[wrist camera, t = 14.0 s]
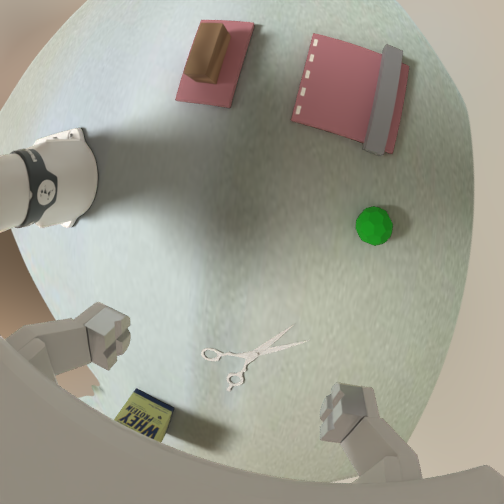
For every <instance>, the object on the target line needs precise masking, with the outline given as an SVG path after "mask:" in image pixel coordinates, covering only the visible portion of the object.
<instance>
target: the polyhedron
mask: <svg viewBox="0 0 504 504" xmlns="http://www.w3.org/2000/svg"><path fill="white" fill-rule="evenodd" d="M392 228H393V223H392V221H391V220H390V218H389V216H388V214H387V212H386V211H385V210H383V209H381V208H378V207H374V206H373V207H369V208H366V209H365V210H364V211H363V212H362V213H361V214H360V215H359V217H358V218H357V220H356V230H357V233H358V235H359V237H360V238H361V240H362V241H364V242H367V243H369V244H372V245H374V246H376V245H380V244H383V243H385V242H386V241H387V240H388V239H389V238H390V236H391V234H392Z"/></svg>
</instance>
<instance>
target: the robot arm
mask: <svg viewBox="0 0 504 504" xmlns="http://www.w3.org/2000/svg"><path fill="white" fill-rule="evenodd" d="M97 182H98V173H97V165H96V161H95V158H94V155H93V153H92V151H91V149H90V148H89V147H88V145H87V144H86V142H85V139H84V135H83V132H82V129H81V128H74V129H71V130H67V131H63V132H60V133H56V134H53V135H49V136H46V137H43V138H40V139H37V140H36V142H35V144H34V146H31V147H28V148H26V149H19V150H16V151H13V152H11V153H10V154H5V155H0V233H1V232H3V231H6V230H8V229H11V228H13V227H15V228H21V227H27V226H30V225H31V224H34V223H35V224H36V225H38V226H39V227H40V228H45V227H49V226H53V225H57V224H61V225H63V226H64V227H65V228H70V227H72V226H73V224H74V223H75V221H76V219H77V218H78V217H79V216H81V215H82V214H84V213H85V212H86V211H87V210H88V209H89V207H90V206H91V204H92V202H93V200H94V197H95V194H96V189H97ZM129 326H130V318H129V317H128V316H127V315H125V314H123V313H121V312H119V311H117V310H115V309H113V308H111V307H108V306H106V305H104V304H102V303H100V302H96V303H95V304H93V305H92V306H91V307H89V308H88V309H87V310H85V311H84V312H83V313H82V314H80V315H79V316H78V317H76V318H75V319H74V320H73V319H72V318H69V319H63V320H57V321H50V322H44V323H38V324H31V325H24V326H23V327H21V328H20V329H18V330H17V331H16V332H14V333H13V334H11V335H10V336H9V337H8V338H6V339H4V338H3V337H1V336H0V504H504V477H503V476H502V475H501V474H500V473H498V472H497V471H496V470H494V469H493V468H492V467H490V466H488V465H483V466H479V467H476V468H472V469H469V470H465V471H461V472H457V473H452V474H447V475H443V476H437V477H432V478H425V479H422V474H421V469H420V464H419V460H418V456H417V454H416V453H415V452H414V451H413V450H412V449H411V447H410V446H409V445H408V444H407V443H406V442H405V441H404V440H403V439H402V438H401V437H400V436H399V435H398V434H397V433H396V432H395V431H394V429H393V428H392V427H391V426H390V425H389V424H388V423H387V422H386V421H385V420H384V419H383V418H380V415H379V411H378V406H377V402H376V398H375V393H374V389H373V388H372V387H364V386H357V385H351V384H345V383H339V382H336V383H335V384H334V386H333V387H332V389H331V390H332V394H330V395H328V396H326V398H325V399H324V401H323V404H322V406H321V411H320V419H321V420H322V421H323V424H322V425H321V426H320V440H322V441H328V442H335V443H340V445H341V447H342V448H343V450H344V452H345V454H346V455H347V457H348V458H349V460H350V462H351V463H352V465H353V467H354V468H355V470H356V472H357V473H358V475H359V478H358V479H356V480H355V481H354V482H352V483H328V482H315V481H305V480H297V479H289V478H283V477H277V476H271V475H265V474H260V473H256V472H251V471H247V470H242V469H238V468H234V467H231V466H227V465H223V464H220V463H216V462H213V461H210V460H207V459H204V458H200V457H197V456H195V455H192V454H189V453H186V452H183V451H181V450H178V449H175V448H173V447H170V446H168V445H165V444H163V443H161V442H158V441H156V440H154V439H151V438H149V437H147V436H145V435H143V434H141V433H138V432H136V431H134V430H132V429H130V428H128V427H126V426H124V425H122V424H120V423H119V422H117V421H115V420H113V419H111V418H109V417H108V416H106V415H104V414H102V413H101V412H99V411H97V410H96V409H94V408H92V407H91V406H89V405H87V404H86V403H84V402H83V401H81V400H80V399H78V398H77V397H75V396H74V395H72V394H71V393H69V392H68V391H66V390H65V389H63V388H62V387H61V386H59V385H58V383H57V380H56V377H55V376H56V375H59V374H62V373H64V372H67V371H70V370H73V369H76V368H78V367H81V366H84V365H87V364H89V363H91V362H93V363H95V364H97V365H99V366H101V367H103V368H104V369H106V370H108V371H109V370H110V368H111V367H112V366H113V365H114V364H115V363H116V362H117V356H118V355H122V354H124V352H125V351H126V350H127V348H128V346H129V344H130V332H129V330H128V327H129Z"/></svg>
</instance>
